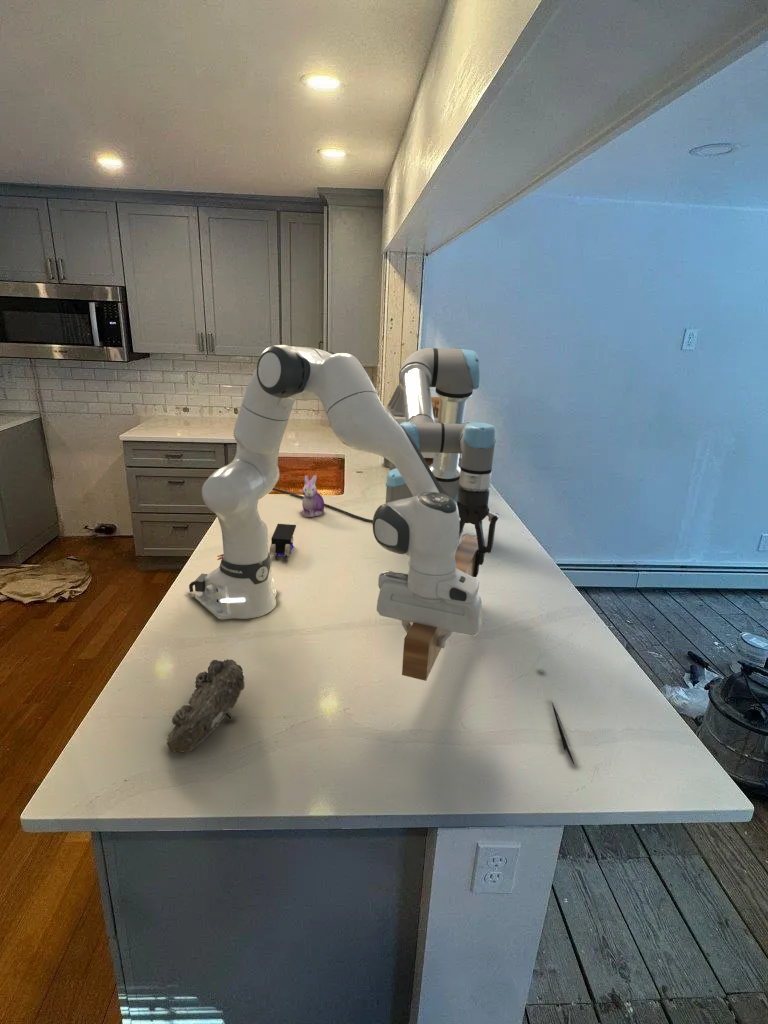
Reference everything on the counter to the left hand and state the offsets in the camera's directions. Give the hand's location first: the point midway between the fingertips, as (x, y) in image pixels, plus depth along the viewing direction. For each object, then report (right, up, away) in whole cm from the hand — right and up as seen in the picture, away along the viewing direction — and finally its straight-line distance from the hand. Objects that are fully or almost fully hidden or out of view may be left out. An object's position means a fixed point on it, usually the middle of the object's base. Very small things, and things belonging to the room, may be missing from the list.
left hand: (426, 642), depth 111 cm
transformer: (+9, +44, +164) cm, 171 cm away
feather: (+26, -15, +2) cm, 30 cm away
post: (+6, +3, +19) cm, 20 cm away
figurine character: (-40, +12, +70) cm, 81 cm away
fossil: (-41, -14, -3) cm, 43 cm away
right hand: (+13, +10, +36) cm, 39 cm away
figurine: (-35, +25, +105) cm, 113 cm away
